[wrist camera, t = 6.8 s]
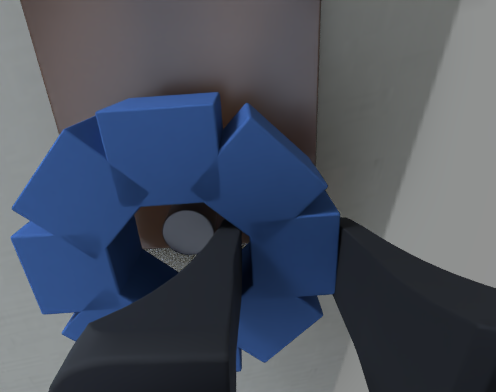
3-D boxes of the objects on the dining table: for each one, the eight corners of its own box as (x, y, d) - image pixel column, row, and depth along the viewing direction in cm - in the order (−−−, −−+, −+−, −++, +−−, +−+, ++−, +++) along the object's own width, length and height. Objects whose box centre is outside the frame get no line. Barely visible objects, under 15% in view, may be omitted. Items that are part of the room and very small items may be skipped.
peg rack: (322, -377, 9) (387, -715, 5) (307, 225, 17) (329, 277, 13) (-55, -357, 9) (-288, -683, 5) (104, 237, 17) (62, 294, 13)
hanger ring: (322, 84, 11) (348, 93, 8) (315, 312, 15) (331, 366, 12) (25, 105, 11) (-41, 120, 8) (99, 327, 15) (70, 384, 12)
